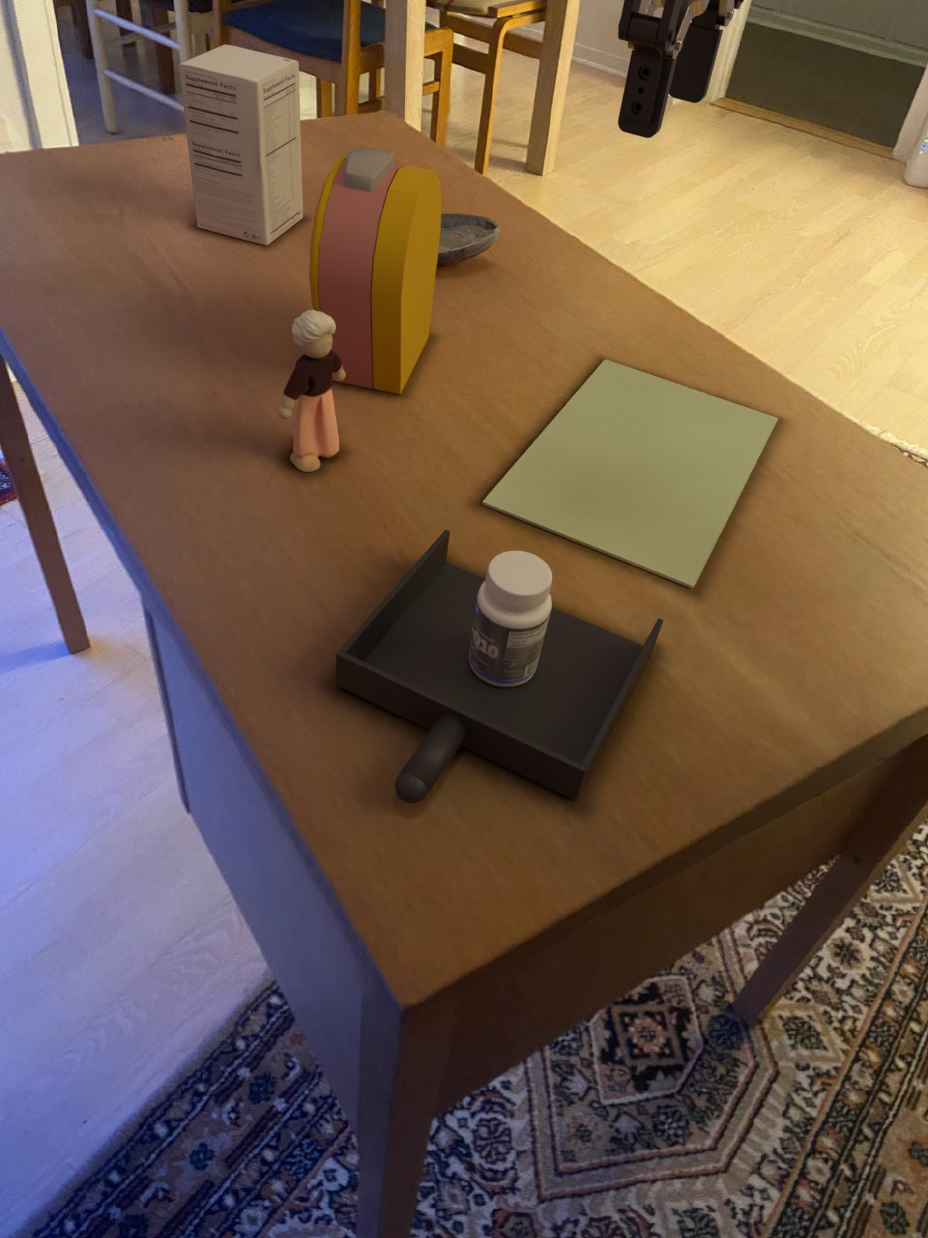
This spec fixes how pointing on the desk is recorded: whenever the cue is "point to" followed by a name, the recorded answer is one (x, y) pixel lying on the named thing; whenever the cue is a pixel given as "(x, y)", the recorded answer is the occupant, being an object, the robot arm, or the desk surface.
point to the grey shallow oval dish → (465, 237)
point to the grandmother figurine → (313, 391)
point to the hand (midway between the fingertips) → (662, 115)
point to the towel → (638, 470)
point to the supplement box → (244, 141)
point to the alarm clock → (376, 264)
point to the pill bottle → (510, 619)
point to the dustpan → (471, 708)
